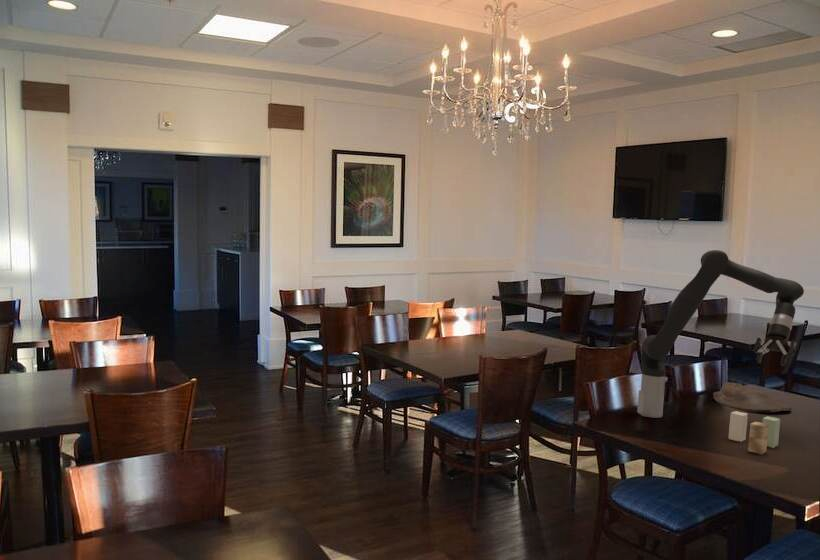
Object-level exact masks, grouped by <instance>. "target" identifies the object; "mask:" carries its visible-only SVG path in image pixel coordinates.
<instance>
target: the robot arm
mask: <svg viewBox="0 0 820 560" xmlns="http://www.w3.org/2000/svg"><path fill="white" fill-rule="evenodd" d="M700 265H701V266H700V268H699V270H698V272H697V273H696V275H695V276H694V277H693V278H692V279H691V281H689V282H688V283H687V284H686V285H685V286H684V287H683V289H681V290H680V291H679V293H678V294H677V296H676V297H675V298H674V300H673V302H672V303H671V305H670V307H669V309H668V312H667V315H666V318H665V321H664V323H663V325H662V327H661V328H660V330H658V332H657V333H656V334H651V335H648V336H646V337H645V338H644V340H643V341H642V343H641V355H640V356H641V357H640V359H641V360H640V361H641V362H640V364H641V365H640V366H641V381H640V390H638V397H637V411H636V412H637V414H639V415H640V416H642V417H646V418H653V419H654V418H663V415H664V412H663V411H664V410H663V409H664V397H665V385H666V384H665V383H666V371H667V370H666V367H665V358H666V357H667V356H668V355H669V354H670V352H671V350H672V348H673V346H674V344H675V342H676V341H677V339H678V338H679V335H680V334H681V333H682V331H683V330H684V328H685V327H686V326H687V324H688V323H689V321H690V320H691V318H692V317H693V316H694V315H695V313H696V312H697V310H698V309H699V307H700V305H701V304H702V302H703V301H704V299H705V297H706V296H707V294H708V293H709V291H710V289H711V288H712V286H713V285H714V284H715V282H716V281H717V280H718V278H719V277H720V276H725V277H729V278H732V279H734V280H736V281H739V282H741V283H743V284H745V285H748V286H749V287H752V288H754V289H756V290H759V291H762V292H764V293H766V294H774V293H776V296H775V297H776V298H775V310H774V312H773V316H772V317H771V321H770V323H769V327H768V331H767V334H766V337H765V339H762V338H761V337H757V338H756V341H755V343H754V346H753V349H752V350H753V351H754V354H756V358H755V360H756V362H757V364H762V360H763V357H764V356H763V355H765V354H766V353H769V351H770V352H778V353H779V352H781V353H782V355H781V358H780V363H779V365H780V366H781V367H784V366H785V365H787V361H788V358H793V357H795V355H796V349H797V348H796V347H797V343H796V340H793V339H792V340H791V341H789V339H790V337H791V336H790V335H791V331H792V330H793V324H794V323H793V322H794V318H795V314H796V307H795V306H794V303H795V302H796V301H797V300H798V299H800V298H801V297H802V296H803V295H804V293H805V290H804V287H803V286H802V285H801V284H800V283H798V282H797V281H795V280H791V279H787V278H781V277H777V276H776V277H775V276H773V275H771V274H769V273H766V272H764V271H761V270H758V269H756V268H752V267H748V266H744V265H743V264H739V263H737V262H735V261H732V260H731V259H729V256H728V254H727V253H726V252H725V251H724V250H719V249H714V250H707V251H706V252H705V253H703V254H702V256H701V258H700ZM787 347H789V349H788V350H789V351H786V349H785V348H787Z"/></svg>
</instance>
